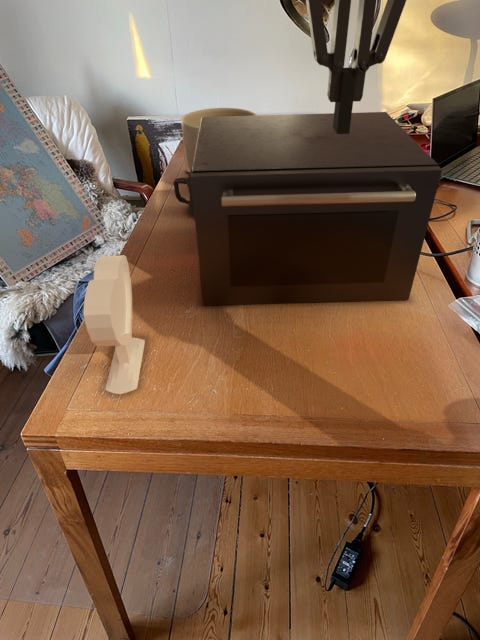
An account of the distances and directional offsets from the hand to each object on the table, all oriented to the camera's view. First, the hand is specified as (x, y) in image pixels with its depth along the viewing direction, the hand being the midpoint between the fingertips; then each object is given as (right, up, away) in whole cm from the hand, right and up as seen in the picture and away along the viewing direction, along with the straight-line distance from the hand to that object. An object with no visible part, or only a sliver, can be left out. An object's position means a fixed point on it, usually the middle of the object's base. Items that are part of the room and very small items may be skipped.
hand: (340, 130), depth 55 cm
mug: (-23, +6, +67) cm, 72 cm away
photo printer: (-26, +26, +93) cm, 99 cm away
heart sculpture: (-31, -30, +22) cm, 49 cm away
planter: (-17, +17, +81) cm, 84 cm away
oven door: (+1, -20, +33) cm, 39 cm away
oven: (0, -9, +48) cm, 48 cm away
